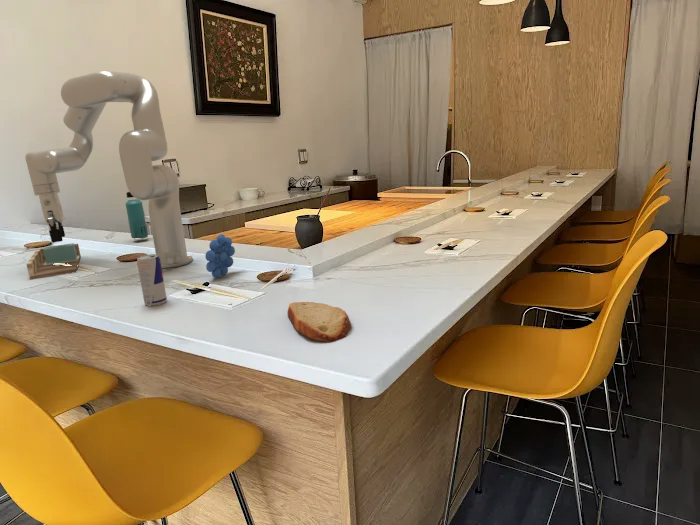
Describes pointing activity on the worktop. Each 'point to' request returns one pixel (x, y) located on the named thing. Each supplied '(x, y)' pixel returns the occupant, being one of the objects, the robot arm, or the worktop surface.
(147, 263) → the energy drink
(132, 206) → the beverage bottle
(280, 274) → the fork
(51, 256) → the teal block
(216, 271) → the grapes
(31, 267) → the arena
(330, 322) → the bread slice
